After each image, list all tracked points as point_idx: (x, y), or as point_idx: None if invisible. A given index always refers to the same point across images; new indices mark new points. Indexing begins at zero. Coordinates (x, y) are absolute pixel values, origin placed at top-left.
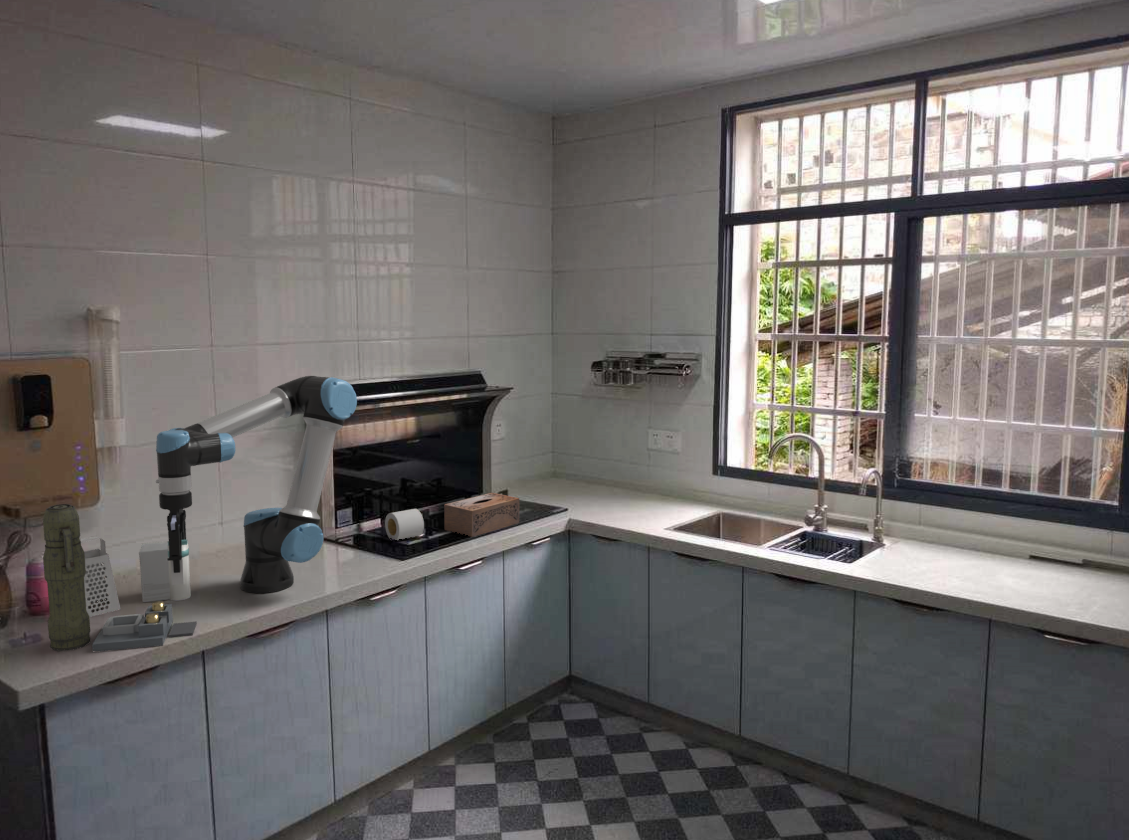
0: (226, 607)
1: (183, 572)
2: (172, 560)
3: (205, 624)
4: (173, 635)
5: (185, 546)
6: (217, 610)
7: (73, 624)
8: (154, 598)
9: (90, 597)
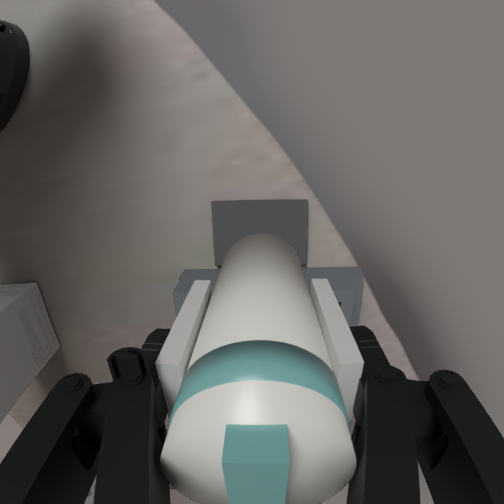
0: (98, 138)
1: (325, 307)
2: (351, 412)
3: (224, 174)
4: (306, 251)
5: (325, 421)
6: (116, 159)
7: None
8: (49, 329)
9: None
